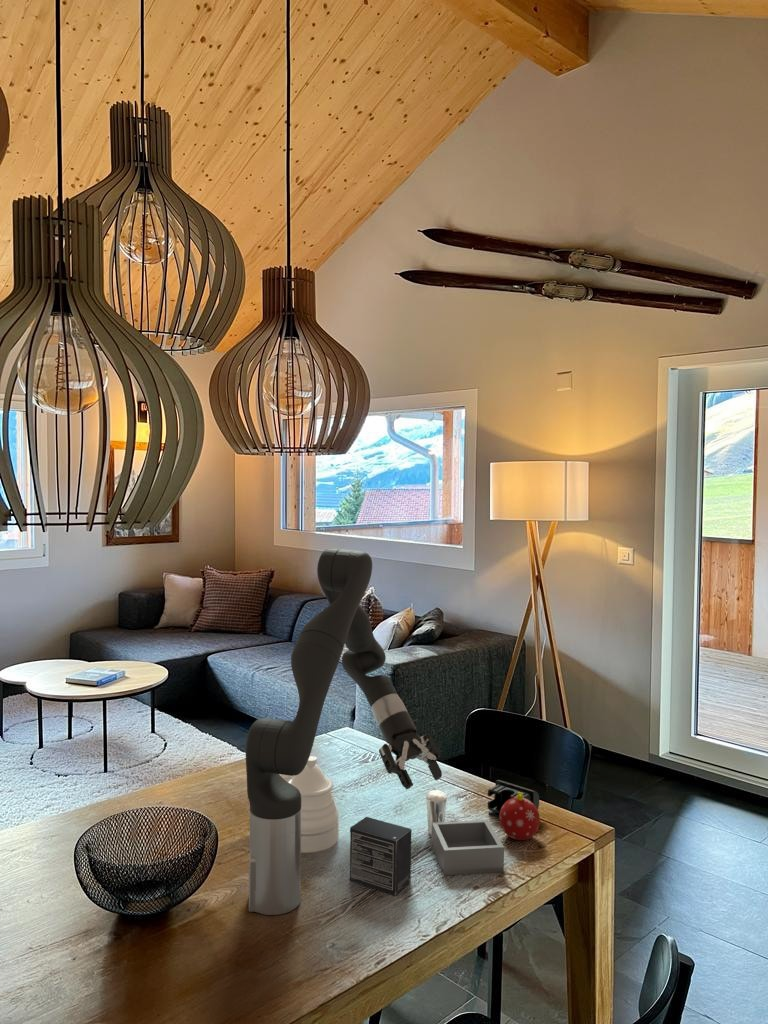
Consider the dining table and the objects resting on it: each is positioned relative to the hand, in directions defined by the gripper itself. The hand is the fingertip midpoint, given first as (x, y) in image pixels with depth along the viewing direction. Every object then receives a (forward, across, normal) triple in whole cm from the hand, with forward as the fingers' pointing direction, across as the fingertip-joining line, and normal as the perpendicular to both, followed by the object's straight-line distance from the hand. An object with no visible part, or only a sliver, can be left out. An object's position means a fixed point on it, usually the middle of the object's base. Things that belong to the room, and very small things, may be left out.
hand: (424, 782), depth 170 cm
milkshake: (+10, 0, +4) cm, 11 cm away
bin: (+18, -3, -5) cm, 19 cm away
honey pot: (0, -24, +14) cm, 28 cm away
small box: (+16, -22, -2) cm, 27 cm away
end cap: (+13, +20, +1) cm, 24 cm away
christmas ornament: (+19, +13, -5) cm, 23 cm away
